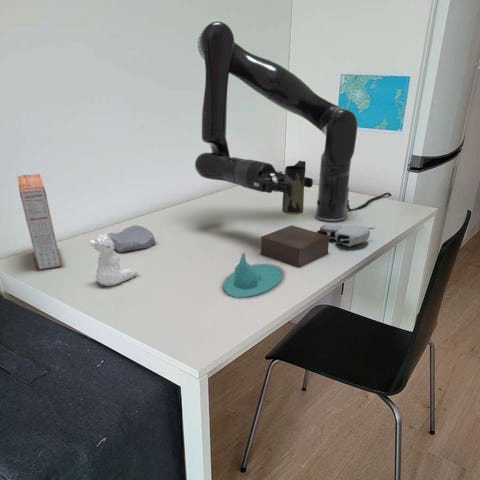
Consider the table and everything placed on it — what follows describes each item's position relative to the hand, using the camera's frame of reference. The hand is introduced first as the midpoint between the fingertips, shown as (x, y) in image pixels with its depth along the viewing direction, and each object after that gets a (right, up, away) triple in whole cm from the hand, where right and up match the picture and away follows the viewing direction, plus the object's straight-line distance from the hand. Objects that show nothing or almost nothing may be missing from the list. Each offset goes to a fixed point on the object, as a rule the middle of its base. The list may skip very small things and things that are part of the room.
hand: (301, 186), depth 121 cm
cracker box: (-67, -18, +7) cm, 70 cm away
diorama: (-12, -24, -4) cm, 27 cm away
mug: (-1, -5, +4) cm, 7 cm away
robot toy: (+14, -11, +19) cm, 26 cm away
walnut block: (-1, -16, +10) cm, 19 cm away
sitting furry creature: (-46, -24, -4) cm, 52 cm away
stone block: (-46, -13, +16) cm, 50 cm away
